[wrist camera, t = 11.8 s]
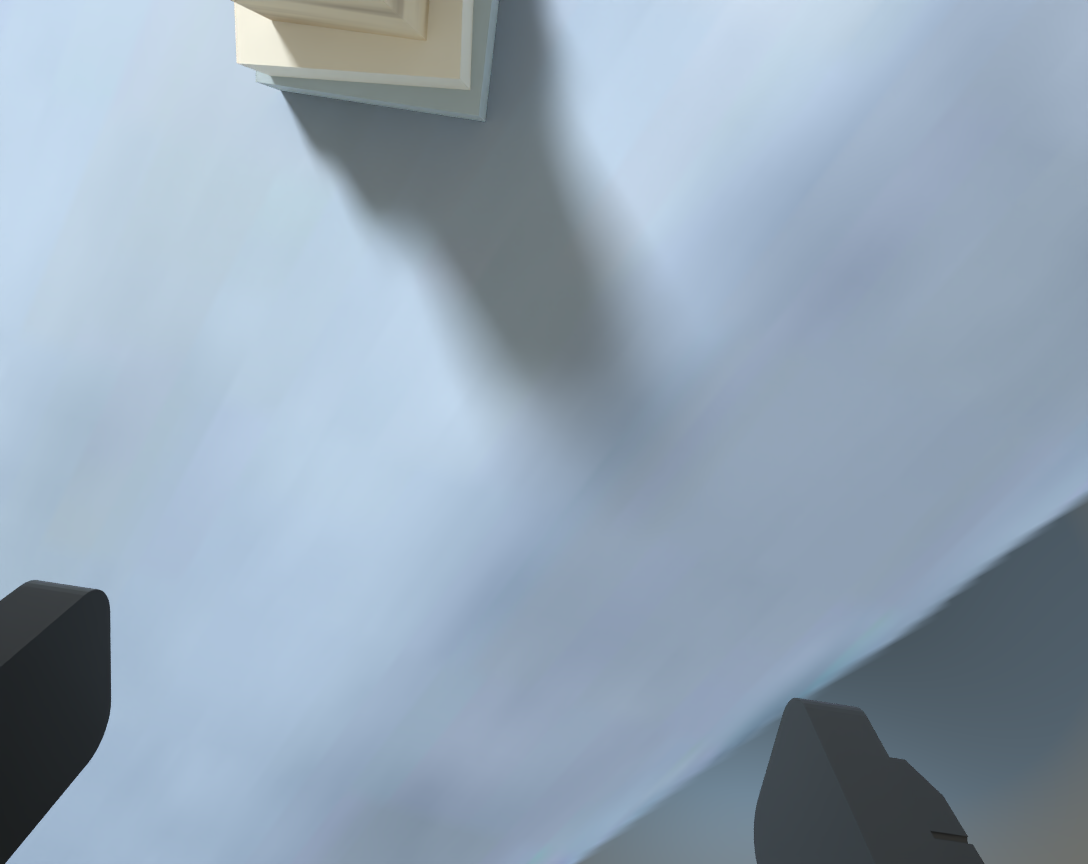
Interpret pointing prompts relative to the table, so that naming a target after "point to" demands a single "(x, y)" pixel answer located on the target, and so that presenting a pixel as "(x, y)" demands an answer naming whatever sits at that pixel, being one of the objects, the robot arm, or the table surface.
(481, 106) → the tower base
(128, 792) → the table surface
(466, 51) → the tower top
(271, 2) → the maple pillar
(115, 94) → the table surface
